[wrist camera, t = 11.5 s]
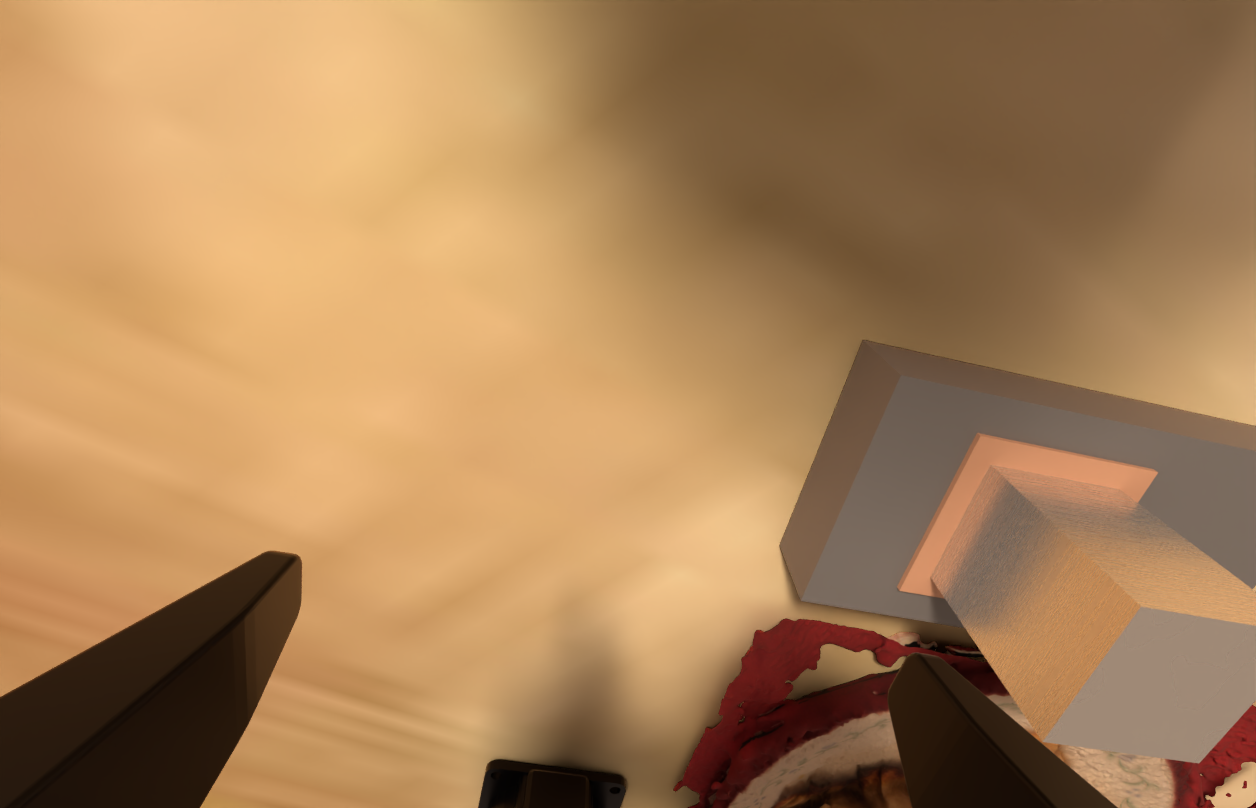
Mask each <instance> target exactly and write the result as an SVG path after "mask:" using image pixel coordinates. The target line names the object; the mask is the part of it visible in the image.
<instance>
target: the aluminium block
mask: <svg viewBox="0 0 1256 808" xmlns="http://www.w3.org/2000/svg"><path fill="white" fill-rule="evenodd" d="M931 579H932V580H933V582H934V583H935V585H936V586H937V588H938V589H939V591H940V592H941V594H942V595H943V596H944V598H945V599H946V601H947V602H948V604H949V605H950V607H951V608H952V610H953V611H954V613H955V614H956V616H957V617H958V619H959V620H960V621H961V623H962V624H963V626H964V627H965V629H966V630H967V632H968V633H969V635H970V636H971V638H972V639H973V641H974V642H975V644H976V645H977V646H978V648H979V649H980V651H981V652H982V654H983V655H984V657H985V658H986V660H987V661H988V663H989V664H990V666H991V667H992V668H993V670H994V671H995V673H996V674H997V676H998V677H999V679H1000V680H1001V682H1002V683H1003V685H1004V686H1005V688H1006V689H1007V691H1008V692H1009V693H1010V695H1011V696H1012V698H1013V699H1014V701H1015V702H1016V704H1017V705H1018V707H1019V708H1020V710H1021V711H1022V713H1023V714H1024V716H1025V717H1026V718H1027V720H1028V721H1029V723H1030V724H1031V726H1032V727H1033V729H1034V730H1035V732H1036V733H1037V735H1038V736H1039V738H1040V739H1041V741H1042V742H1047V743H1054V744H1061V745H1069V746H1076V747H1083V748H1091V749H1098V750H1105V751H1112V752H1120V753H1127V754H1134V755H1141V756H1149V757H1156V758H1163V759H1170V760H1178V761H1185V762H1192V763H1200V762H1201V761H1202V760H1203V759H1204V758H1205V756H1206V755H1207V754H1208V753H1209V752H1210V751H1211V750H1212V749H1213V748H1214V746H1215V745H1216V744H1217V743H1218V742H1219V741H1220V740H1221V739H1222V738H1223V736H1224V735H1225V734H1226V733H1227V732H1228V731H1229V730H1230V729H1231V728H1232V726H1233V725H1234V724H1235V723H1236V722H1237V721H1238V720H1239V719H1240V718H1241V716H1242V715H1243V714H1244V713H1245V712H1246V711H1247V710H1248V709H1249V708H1250V706H1251V705H1252V704H1253V703H1254V702H1255V701H1256V591H1254V590H1253V589H1252V588H1250V587H1249V586H1248V585H1246V584H1245V583H1244V582H1242V581H1241V580H1240V579H1238V578H1237V577H1236V576H1234V575H1233V574H1232V573H1230V572H1229V571H1228V570H1226V569H1225V568H1224V567H1222V566H1221V565H1220V564H1218V563H1217V562H1216V561H1214V560H1213V559H1212V558H1210V557H1209V556H1208V555H1206V554H1205V553H1204V552H1202V551H1201V550H1200V549H1198V548H1197V547H1196V546H1194V545H1193V544H1192V543H1190V542H1189V541H1188V540H1186V539H1185V538H1184V537H1182V536H1181V535H1180V534H1178V533H1177V532H1176V531H1174V530H1173V529H1172V528H1170V527H1169V526H1168V525H1166V524H1165V523H1164V522H1162V521H1161V520H1160V519H1158V518H1157V517H1156V516H1154V515H1153V514H1152V513H1150V512H1149V511H1148V510H1146V509H1145V508H1144V507H1142V506H1141V505H1140V504H1138V503H1137V502H1136V501H1134V500H1133V499H1132V498H1130V497H1129V496H1128V495H1126V494H1125V493H1124V492H1122V491H1121V490H1120V489H1116V488H1110V487H1105V486H1100V485H1095V484H1089V483H1084V482H1079V481H1074V480H1068V479H1063V478H1058V477H1053V476H1047V475H1042V474H1037V473H1032V472H1027V471H1021V470H1016V469H1011V468H1006V467H1000V466H995V465H990V466H989V468H988V470H987V472H986V474H985V475H984V477H983V479H982V481H981V483H980V485H979V487H978V489H977V490H976V492H975V494H974V496H973V498H972V500H971V502H970V504H969V505H968V507H967V509H966V511H965V513H964V515H963V517H962V519H961V520H960V522H959V524H958V526H957V528H956V530H955V532H954V534H953V535H952V537H951V539H950V541H949V543H948V545H947V547H946V549H945V550H944V552H943V554H942V556H941V558H940V560H939V562H938V564H937V565H936V567H935V569H934V571H933V573H932V575H931Z"/></svg>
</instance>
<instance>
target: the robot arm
mask: <svg viewBox="0 0 1256 808" xmlns="http://www.w3.org/2000/svg"><path fill="white" fill-rule="evenodd" d="M301 594H302V561H301V558H300V557H299V556H298V555H296V554H292V553H285V552H279V551H267V552H264V553H262V554H260V555H258V556H257V557H255V558H253V559H251V560H249V561H247V562H246V563H244V564H242V565H240V566H238V567H237V568H235V569H233V570H231V571H229V572H227V573H226V574H224V575H222V576H220V577H218V578H217V579H215V580H213V581H211V582H209V583H207V584H206V585H204V586H202V587H200V588H198V589H196V590H195V591H193V592H191V593H189V594H187V595H185V596H184V597H182V598H180V599H178V600H176V601H175V602H173V603H171V604H169V605H167V606H165V607H164V608H162V609H160V610H158V611H156V612H155V613H153V614H151V615H149V616H147V617H145V618H144V619H142V620H140V621H138V622H136V623H134V624H133V625H131V626H129V627H127V628H125V629H123V630H122V631H120V632H118V633H116V634H114V635H113V636H111V637H109V638H107V639H105V640H103V641H102V642H100V643H98V644H96V645H94V646H92V647H91V648H89V649H87V650H85V651H83V652H82V653H80V654H78V655H76V656H74V657H72V658H71V659H69V660H67V661H65V662H63V663H61V664H60V665H58V666H56V667H54V668H52V669H51V670H49V671H47V672H45V673H43V674H41V675H40V676H38V677H36V678H34V679H32V680H30V681H29V682H27V683H25V684H23V685H21V686H20V687H18V688H16V689H14V690H12V691H10V692H9V693H7V694H5V695H3V696H1V697H0V808H200V807H201V805H202V803H203V802H204V800H205V798H206V796H207V795H208V793H209V791H210V790H211V788H212V786H213V785H214V783H215V781H216V779H217V778H218V776H219V774H220V773H221V771H222V769H223V768H224V766H225V764H226V762H227V761H228V759H229V757H230V756H231V754H232V752H233V751H234V749H235V747H236V745H237V744H238V742H239V740H240V738H241V737H242V735H243V733H244V731H245V729H246V727H247V726H248V724H249V722H250V720H251V717H252V715H253V713H254V711H255V709H256V707H257V705H258V703H259V700H260V698H261V696H262V694H263V692H264V689H265V687H266V685H267V683H268V681H269V678H270V676H271V674H272V672H273V670H274V667H275V665H276V663H277V661H278V659H279V656H280V654H281V652H282V650H283V648H284V645H285V643H286V641H287V639H288V636H289V634H290V632H291V630H292V628H293V625H294V623H295V621H296V619H297V616H298V613H299V610H300V606H301ZM887 699H888V708H889V713H890V717H891V721H892V726H893V730H894V734H895V739H896V743H897V747H898V752H899V756H900V760H901V765H902V769H903V773H904V778H905V782H906V786H907V791H908V794H909V798H910V802H911V806H912V808H1118V807H1117V806H1115V805H1114V804H1113V803H1112V802H1111V801H1109V800H1108V799H1107V798H1106V797H1105V796H1104V795H1102V794H1101V793H1100V792H1099V791H1098V790H1096V789H1095V788H1094V787H1093V786H1092V785H1091V784H1089V783H1088V782H1087V781H1086V780H1085V779H1083V778H1082V777H1081V776H1080V775H1079V774H1078V773H1076V772H1075V771H1074V770H1073V769H1072V768H1070V767H1069V766H1068V765H1067V764H1066V763H1065V762H1063V761H1062V760H1061V759H1060V758H1059V757H1057V756H1056V755H1055V754H1054V753H1053V752H1052V751H1050V750H1049V749H1048V748H1047V747H1046V746H1044V745H1043V744H1042V743H1041V742H1040V741H1039V740H1037V739H1036V738H1035V737H1034V736H1033V735H1031V734H1030V733H1029V732H1028V731H1027V730H1026V729H1024V728H1023V727H1022V726H1021V725H1020V724H1018V723H1017V722H1016V721H1015V720H1014V719H1013V718H1011V717H1010V716H1009V715H1008V714H1007V713H1005V712H1004V711H1003V710H1002V709H1001V708H1000V707H998V706H997V705H996V704H995V703H994V702H993V701H991V700H990V699H989V698H988V697H987V696H985V695H984V694H983V693H982V692H981V691H980V690H978V689H977V688H976V687H975V686H974V685H972V684H971V683H970V682H969V681H968V680H967V679H965V678H964V677H963V676H962V675H961V674H959V673H958V672H957V671H956V670H955V669H954V668H952V667H951V666H950V665H949V664H948V663H946V662H945V661H944V660H943V659H942V658H940V657H938V656H935V655H929V654H923V653H911V654H910V655H908V656H907V658H906V659H905V661H904V663H903V664H902V666H901V668H900V670H899V672H898V673H897V675H896V677H895V679H894V681H893V682H892V684H891V686H890V688H889V691H888V698H887ZM625 792H626V783H625V779H624V778H623V777H621V776H618V775H612V774H604V773H596V772H588V771H580V770H572V769H564V768H556V767H548V766H541V765H533V764H525V763H517V762H509V761H501V760H494V761H491V762H489V763H488V764H487V767H486V772H485V777H484V782H483V787H482V791H481V796H480V801H479V806H478V808H620V806H621V803H622V800H623V797H624V795H625Z"/></svg>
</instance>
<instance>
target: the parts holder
mask: <svg viewBox="0 0 1256 808" xmlns="http://www.w3.org/2000/svg"><path fill="white" fill-rule="evenodd" d="M990 465H995V466H1000V467H1006V468H1011V469H1016V470H1021V471H1027V472H1032V473H1037V474H1042V475H1047V476H1053V477H1058V478H1063V479H1068V480H1074V481H1079V482H1084V483H1089V484H1095V485H1100V486H1105V487H1110V488H1116V489H1120V490H1121V491H1122V492H1124V493H1125V494H1126V495H1128V496H1129V497H1130V498H1132V499H1133V500H1134V501H1136V502H1137V503H1138V504H1140V505H1141V506H1142V507H1144V508H1145V509H1146V510H1148V511H1149V512H1150V513H1152V514H1153V515H1154V516H1156V517H1157V518H1158V519H1160V520H1161V521H1162V522H1164V523H1165V524H1166V525H1168V526H1169V527H1170V528H1172V529H1173V530H1174V531H1176V532H1177V533H1178V534H1180V535H1181V536H1182V537H1184V538H1185V539H1186V540H1188V541H1189V542H1190V543H1192V544H1193V545H1194V546H1196V547H1197V548H1198V549H1200V550H1201V551H1202V552H1204V553H1205V554H1206V555H1208V556H1209V557H1210V558H1212V559H1213V560H1214V561H1216V562H1217V563H1218V564H1220V565H1221V566H1222V567H1224V568H1225V569H1226V570H1228V571H1229V572H1230V573H1232V574H1233V575H1234V576H1236V577H1237V578H1238V579H1240V580H1241V581H1242V582H1244V583H1245V584H1246V585H1248V586H1249V587H1250V588H1252V589H1253V588H1254V587H1255V585H1256V426H1252V425H1248V424H1243V423H1239V422H1234V421H1229V420H1225V419H1220V418H1216V417H1211V416H1207V415H1202V414H1198V413H1193V412H1188V411H1184V410H1179V409H1175V408H1170V407H1166V406H1161V405H1157V404H1152V403H1147V402H1143V401H1138V400H1134V399H1129V398H1125V397H1120V396H1116V395H1111V394H1106V393H1102V392H1097V391H1093V390H1088V389H1084V388H1079V387H1075V386H1070V385H1065V384H1061V383H1056V382H1052V381H1047V380H1043V379H1038V378H1034V377H1029V376H1025V375H1020V374H1015V373H1011V372H1006V371H1002V370H997V369H993V368H988V367H984V366H979V365H974V364H970V363H965V362H961V361H956V360H952V359H947V358H943V357H938V356H933V355H929V354H924V353H920V352H915V351H911V350H906V349H902V348H897V347H892V346H888V345H883V344H879V343H874V342H870V341H865V340H863V341H862V344H861V346H860V349H859V351H858V353H857V356H856V358H855V361H854V363H853V366H852V368H851V371H850V373H849V376H848V378H847V380H846V383H845V385H844V388H843V390H842V393H841V395H840V398H839V400H838V403H837V405H836V408H835V410H834V412H833V415H832V417H831V420H830V422H829V425H828V427H827V430H826V432H825V435H824V437H823V439H822V442H821V444H820V447H819V449H818V452H817V454H816V457H815V459H814V462H813V464H812V467H811V469H810V471H809V474H808V476H807V479H806V481H805V484H804V486H803V489H802V491H801V494H800V496H799V499H798V501H797V503H796V506H795V508H794V511H793V513H792V516H791V518H790V521H789V523H788V526H787V528H786V530H785V533H784V535H783V538H782V540H781V543H780V545H779V546H780V548H781V551H782V554H783V556H784V559H785V561H786V564H787V567H788V569H789V572H790V574H791V577H792V580H793V582H794V585H795V587H796V590H797V593H798V595H799V598H800V600H801V601H804V602H810V603H816V604H822V605H828V606H834V607H840V608H846V609H853V610H859V611H865V612H871V613H877V614H883V615H889V616H895V617H901V618H907V619H913V620H919V621H925V622H931V623H937V624H943V625H949V626H955V627H961V628H965V627H964V626H963V624H962V623H961V621H960V620H959V619H958V617H957V616H956V614H955V613H954V611H953V610H952V608H951V607H950V605H949V604H948V602H947V601H946V599H945V598H944V596H943V595H942V594H941V592H940V591H939V589H938V588H937V586H936V585H935V583H934V582H933V580H932V579H931V575H932V573H933V571H934V569H935V567H936V565H937V564H938V562H939V560H940V558H941V556H942V554H943V552H944V550H945V549H946V547H947V545H948V543H949V541H950V539H951V537H952V535H953V534H954V532H955V530H956V528H957V526H958V524H959V522H960V520H961V519H962V517H963V515H964V513H965V511H966V509H967V507H968V505H969V504H970V502H971V500H972V498H973V496H974V494H975V492H976V490H977V489H978V487H979V485H980V483H981V481H982V479H983V477H984V475H985V474H986V472H987V470H988V468H989V466H990Z"/></svg>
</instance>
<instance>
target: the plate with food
mask: <svg viewBox="0 0 1256 808" xmlns="http://www.w3.org/2000/svg"><path fill="white" fill-rule="evenodd" d="M829 643H830V644H835V645H839V646H842V647H844V648H846V649H850V650H852V651H854V652H860V651H862V650H866V649H867V650H871V651H873V652H875V653H876V657H877V661H878V662H879V663H880V664H882V665H884V666H886V667H891V666H892V665H893V664H894V663H895V662H896V661H897V660H898V659H899V658H900V657H902V656H908V655H910V654H911V653H923V654H929V655H935V656H938V657H940V658H942V659H943V660H944V661H945V662H946V663H948V664H949V665H950V666H951V667H952V668H954V669H955V670H956V671H957V672H958V673H959V674H961V675H962V676H963V677H964V678H965V679H967V680H968V681H969V682H970V683H971V684H972V685H974V686H975V687H976V688H977V689H978V690H980V691H981V692H982V693H983V694H984V695H985V696H987V697H988V698H989V699H990V700H991V701H993V702H994V703H995V704H996V705H997V706H998V707H1000V708H1001V709H1002V710H1003V711H1004V712H1005V713H1007V714H1008V715H1009V716H1010V717H1011V718H1013V719H1014V720H1015V721H1016V722H1017V723H1018V724H1020V725H1021V726H1022V727H1023V728H1024V729H1026V730H1027V731H1028V732H1029V733H1030V734H1031V735H1033V736H1034V737H1035V738H1036V739H1037V740H1039V741H1040V742H1041V743H1042V744H1043V745H1044V746H1046V747H1047V748H1048V749H1049V750H1050V751H1052V752H1053V753H1054V754H1055V755H1056V756H1057V757H1059V758H1060V759H1061V760H1062V761H1063V762H1065V763H1066V764H1067V765H1068V766H1069V767H1070V768H1072V769H1073V770H1074V771H1075V772H1076V773H1078V774H1079V775H1080V776H1081V777H1082V778H1083V779H1085V780H1086V781H1087V782H1088V783H1089V784H1091V785H1092V786H1093V787H1094V788H1095V789H1096V790H1098V791H1099V792H1100V793H1101V794H1102V795H1104V796H1105V797H1106V798H1107V799H1108V800H1109V801H1111V802H1112V803H1113V804H1114V805H1115V806H1117V807H1118V808H1213V807H1215V806H1214V805H1213V804H1212V802H1211V800H1206V798H1205V795H1209V796H1211V797H1213V796H1215V793H1216V791H1215V788H1216V787H1217V786H1222V785H1223V784H1224V779H1225V777H1229V776H1230V775H1231V774H1234V773H1237V772H1238V771H1240V770H1241V764H1242V763H1244V762H1251V761H1252V762H1256V707H1255V706H1253V705H1251V706H1250V708H1249V709H1248V710H1247V711H1246V712H1245V713H1244V714H1243V715H1242V716H1241V718H1240V719H1239V720H1238V721H1237V722H1236V723H1235V724H1234V725H1233V726H1232V728H1231V729H1230V730H1229V731H1228V732H1227V733H1226V734H1225V735H1224V736H1223V738H1222V739H1221V740H1220V741H1219V742H1218V743H1217V744H1216V745H1215V746H1214V748H1213V749H1212V750H1211V751H1210V752H1209V753H1208V754H1207V755H1206V756H1205V758H1204V759H1203V760H1202V761H1201V762H1200V763H1192V762H1185V761H1178V760H1170V759H1163V758H1156V757H1149V756H1141V755H1134V754H1127V753H1120V752H1112V751H1105V750H1098V749H1091V748H1083V747H1076V746H1069V745H1061V744H1054V743H1047V742H1042V741H1041V739H1040V738H1039V736H1038V735H1037V733H1036V732H1035V730H1034V729H1033V727H1032V726H1031V724H1030V723H1029V721H1028V720H1027V718H1026V717H1025V716H1024V714H1023V713H1022V711H1021V710H1020V708H1019V707H1018V705H1017V704H1016V702H1015V701H1014V699H1013V698H1012V696H1011V695H1010V693H1009V692H1008V691H1007V689H1006V688H1005V686H1004V685H1003V683H1002V682H1001V680H1000V679H999V677H998V676H997V674H996V673H995V671H994V670H993V668H992V667H991V666H990V664H989V663H988V662H980V661H977V660H972V659H970V658H967V657H976V658H977V657H984V655H983V654H982V652H981V651H980V650H979V649H974V648H963V647H961V646H946V647H945V648H946V649H947V650H948V651H946V652H945V653H944V654H943V653H939V652H935V649H937V648H938V646H937V644H936V642H934V641H932V642H931V643H929V644H924V643H922V642H921V641H920V637H919V634H917V633H911V632H899V633H896V634H895V635H893V636H891V637H888V638H886V637H884V636H882V635H880V634H877V633H876V632H874V631H867V630H863V629H859V628H852V627H846V626H839V625H837V624H834V625H833V624H830V623H825V622H821V621H815V620H805V619H798V620H797V621H792V620H789V619H783V620H782V621H781V622H780V623H779V624H778V625H777V626H775V627H774V628H773V629H771V630H769V631H766V632H763V631H761V630H756V632H755V635H754V639H753V646H752V647H750V649H749V651H748V652H747V653H746V655H745V657H743V658H742V669H741V673H740V675H739V676H738V677H736V678H735V680H734V681H733V682H732V683H730V684H729V686H728V688H727V691H726V694H725V696H724V698H723V699H722V701H721V706H720V710H719V715H723V718H722V721H721V722H720V723H719V724H718V725H717V726H716V727H714V728H713V729H709V728H706V729H705V733H704V735H703V737H702V738H701V741H700V743H699V744H698V747H697V748H696V749H695V752H694V753H693V756H692V759H691V760H690V763H689V766H687V769H686V772H685V774H684V777H683V780H682V781H680V782H678V784H677V785H676V787H675V788H674V789H673V790H674V791H675V792H676V791H677V790H679V789H680V788H681V787H683V786H687V787H688V788H690V789H691V790H692V791H695V792H697V793H699V794H700V797H699V800H700V802H699V803H698V804H696V805H694V806H690V807H688V808H912V806H911V802H910V798H909V794H908V791H907V786H906V782H905V778H904V773H903V769H902V765H901V760H900V756H899V752H898V747H897V743H896V739H895V734H894V730H893V726H892V721H891V717H890V713H889V708H888V699H887V698H888V691H889V688H890V686H891V684H892V682H893V681H894V679H895V677H896V675H897V673H898V672H899V670H898V671H892V672H885V673H878V674H869V675H867V676H864V677H862V678H859V679H856V680H853V681H850V682H847V683H844V684H840V685H837V686H833V687H830V688H827V689H825V690H822V691H817V692H813V693H810V694H808V695H806V696H803V697H802V698H800V699H797V700H792V699H791V700H790V699H787V700H784V699H785V698H786V697H787V696H788V694H789V693H790V692H792V690H793V685H792V684H791V683H785V682H786V681H787V680H790V681H794V680H796V679H797V678H798V676H799V675H800V674H801V673H802V672H803V671H804V670H806V669H811V670H816V669H817V661H818V660H819V659H820V648H821V646H822V645H824V644H829ZM742 702H744V703H742ZM740 703H742V705H741V707H739V706H738V705H739V704H740ZM741 715H742V716H741ZM743 716H744V717H745V718H744V721H743V722H740V723H739V721H740V720H742V719H743ZM1200 774H1202V775H1203V776H1200ZM1242 788H1247V781H1244V786H1243V787H1242ZM1226 796H1228V797H1231V794H1230V793H1227V794H1226ZM1248 808H1256V802H1255V803H1254V804H1253V805H1252V806H1250V807H1248Z"/></svg>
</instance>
